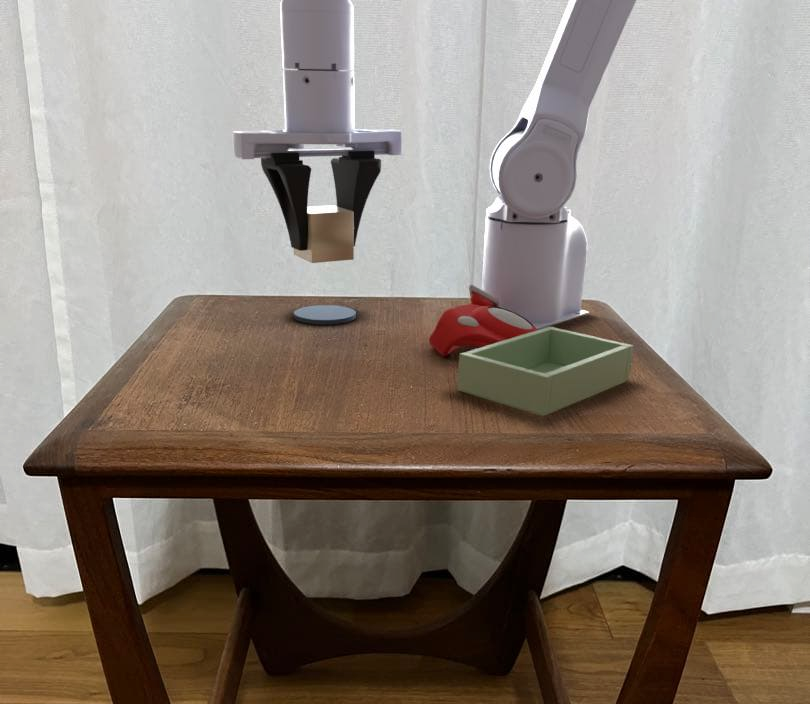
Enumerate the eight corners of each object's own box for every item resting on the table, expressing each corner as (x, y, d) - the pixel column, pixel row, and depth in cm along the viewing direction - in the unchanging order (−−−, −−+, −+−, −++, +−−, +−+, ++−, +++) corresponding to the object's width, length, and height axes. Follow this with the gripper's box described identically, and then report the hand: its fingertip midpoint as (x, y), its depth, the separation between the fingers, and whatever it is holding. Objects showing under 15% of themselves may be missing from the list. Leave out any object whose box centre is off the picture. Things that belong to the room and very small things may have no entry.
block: (334, 252, 79) (333, 205, 78) (354, 259, 76) (353, 211, 74) (293, 255, 78) (291, 207, 76) (312, 263, 75) (310, 213, 73)
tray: (545, 365, 67) (549, 326, 66) (628, 386, 63) (634, 345, 62) (457, 396, 60) (459, 353, 59) (542, 422, 56) (547, 377, 55)
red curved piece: (581, 345, 68) (486, 330, 62) (557, 395, 70) (462, 385, 64) (495, 279, 76) (402, 261, 70) (475, 326, 78) (384, 312, 72)
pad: (327, 306, 83) (326, 302, 83) (368, 317, 80) (368, 312, 79) (281, 316, 79) (281, 311, 79) (322, 327, 76) (322, 323, 76)
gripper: (250, 69, 64) (261, 261, 70) (421, 72, 70) (417, 248, 77) (218, 68, 69) (231, 246, 76) (380, 72, 76) (379, 236, 82)
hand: (323, 246), depth 77 cm, fingers closed on block, 4 cm apart
